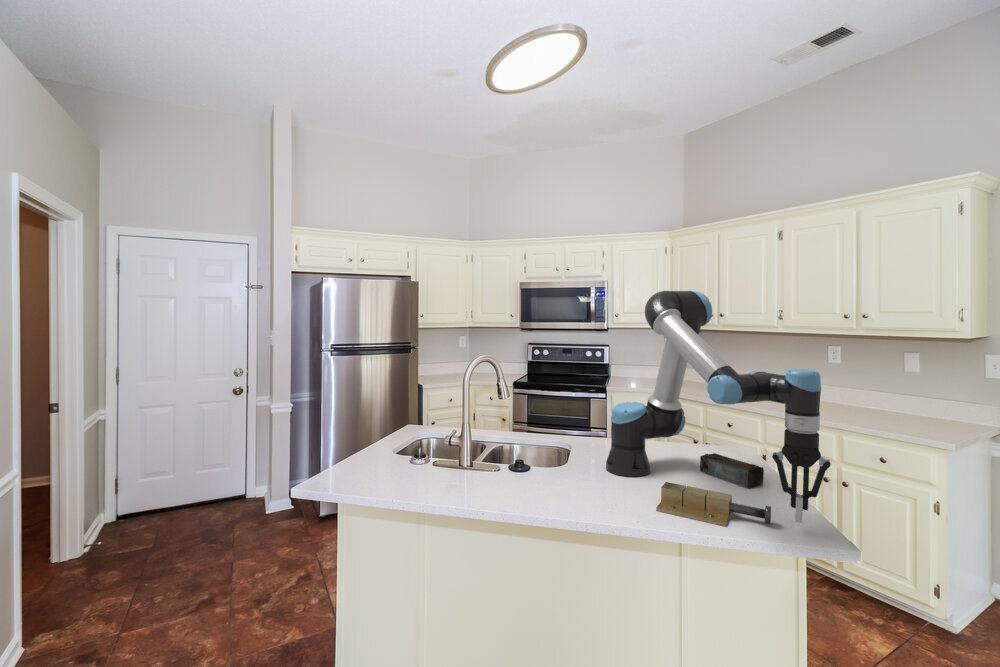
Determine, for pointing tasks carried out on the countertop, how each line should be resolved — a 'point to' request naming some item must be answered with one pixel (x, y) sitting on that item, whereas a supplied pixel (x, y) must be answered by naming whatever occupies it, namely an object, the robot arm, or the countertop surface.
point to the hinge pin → (752, 511)
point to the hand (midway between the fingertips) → (798, 520)
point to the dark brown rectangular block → (732, 470)
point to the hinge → (695, 503)
